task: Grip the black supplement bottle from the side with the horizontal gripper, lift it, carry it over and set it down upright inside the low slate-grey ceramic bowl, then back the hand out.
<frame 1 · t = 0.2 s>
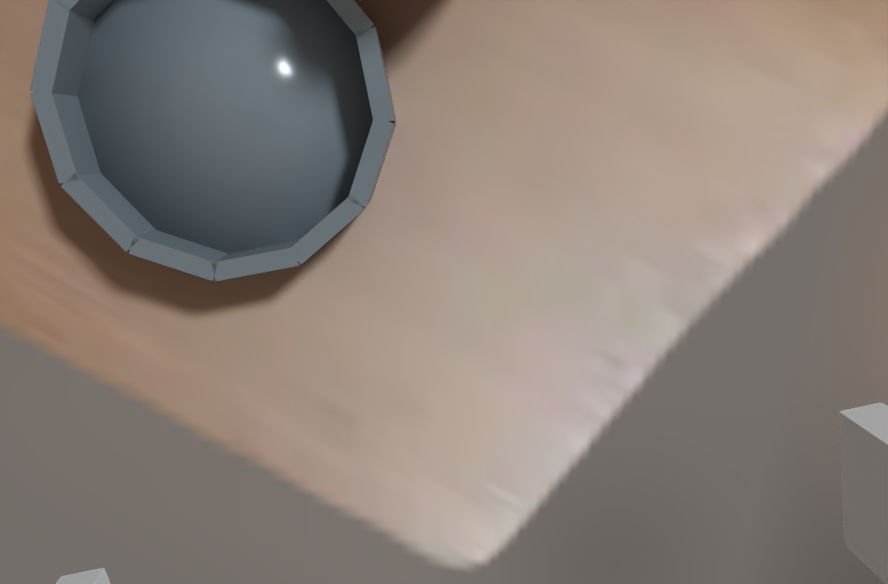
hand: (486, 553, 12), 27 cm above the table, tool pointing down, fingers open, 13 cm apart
bowl: (233, 109, 36), on the table
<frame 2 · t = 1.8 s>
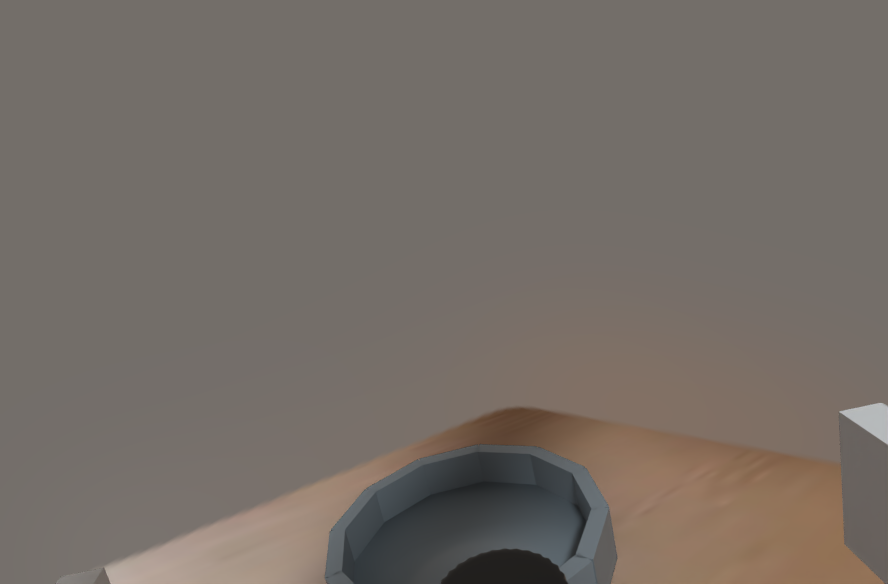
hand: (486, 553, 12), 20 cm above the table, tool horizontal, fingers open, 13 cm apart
bowl: (474, 566, 42), on the table
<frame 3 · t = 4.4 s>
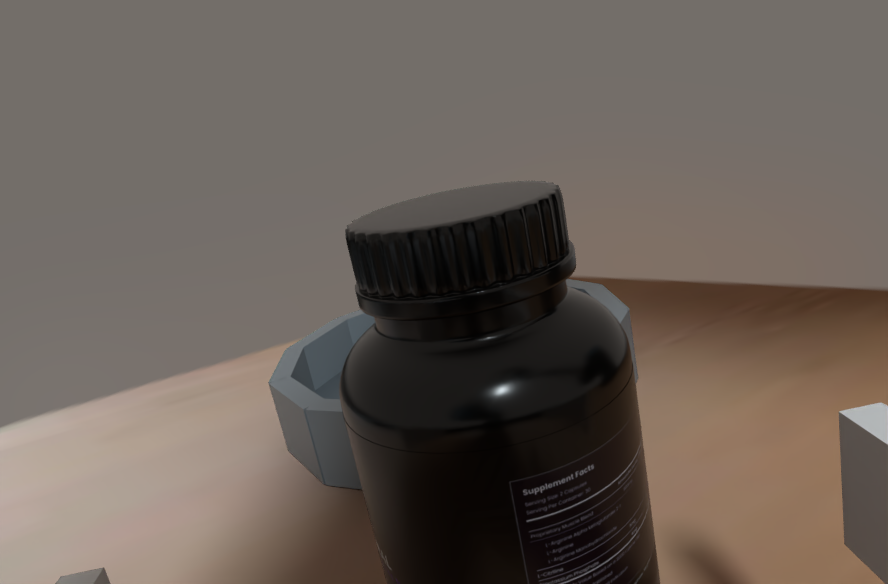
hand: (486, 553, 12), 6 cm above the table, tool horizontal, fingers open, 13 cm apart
bowl: (459, 394, 34), on the table
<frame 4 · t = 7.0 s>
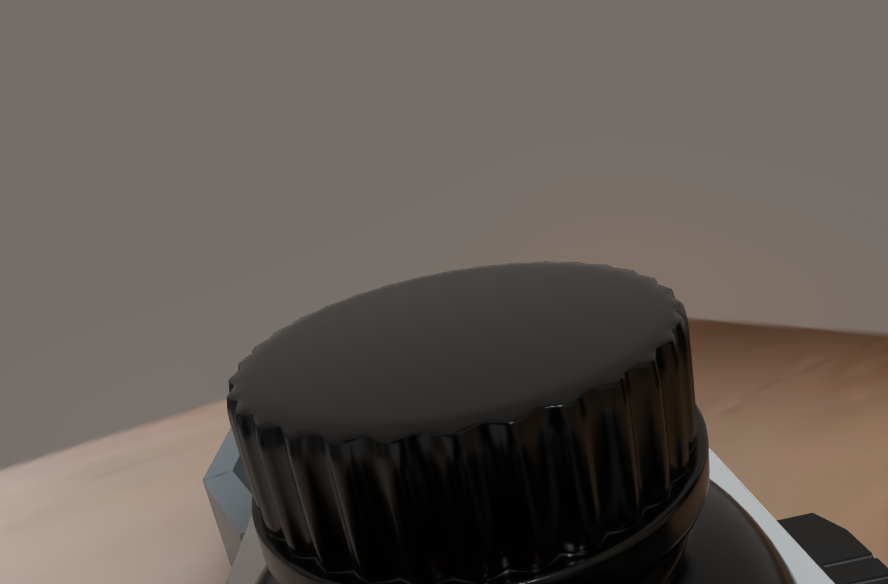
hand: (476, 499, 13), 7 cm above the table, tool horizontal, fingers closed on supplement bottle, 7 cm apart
bowl: (455, 482, 26), on the table
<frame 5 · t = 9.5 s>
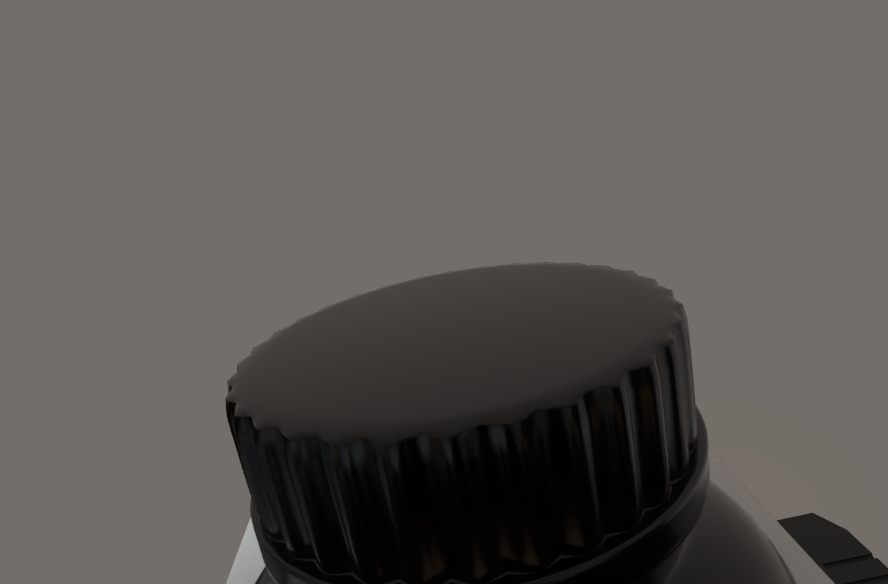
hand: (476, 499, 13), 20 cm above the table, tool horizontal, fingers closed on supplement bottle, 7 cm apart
when the fingers open (9 cm above the table, at t = 12.4 s): supplement bottle moves 3 cm, point 3 cm above the table.
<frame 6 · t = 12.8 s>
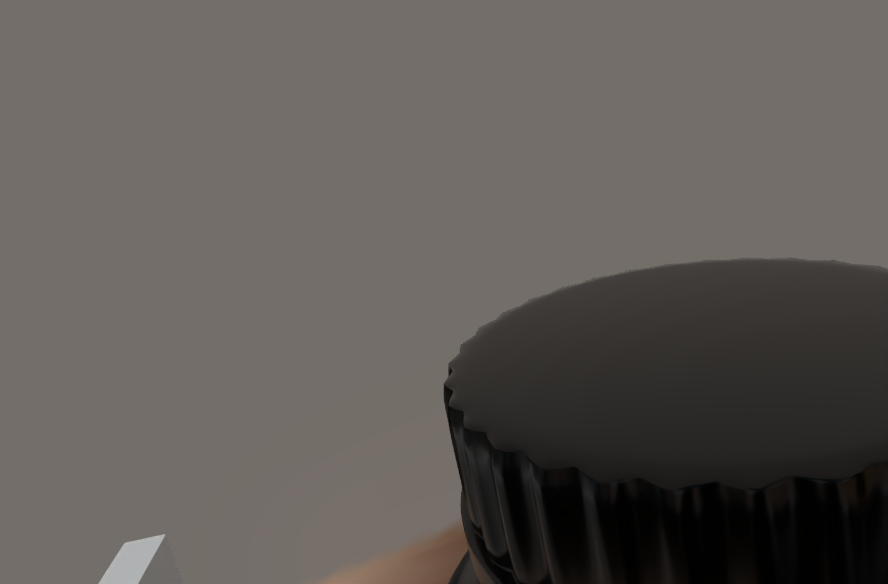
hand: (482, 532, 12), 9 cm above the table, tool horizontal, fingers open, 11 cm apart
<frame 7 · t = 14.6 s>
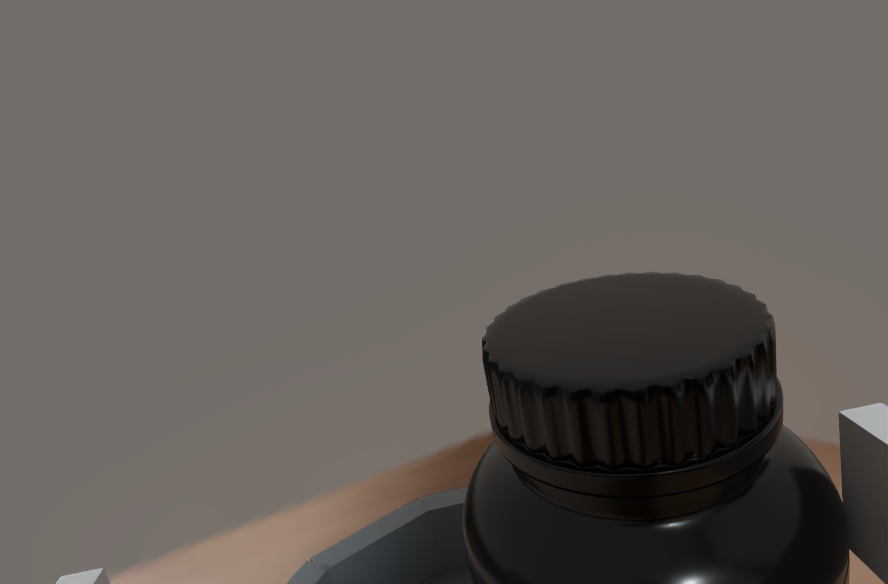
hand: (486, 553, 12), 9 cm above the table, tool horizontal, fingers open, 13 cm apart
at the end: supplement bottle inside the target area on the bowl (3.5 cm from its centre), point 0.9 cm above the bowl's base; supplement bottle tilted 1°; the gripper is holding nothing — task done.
